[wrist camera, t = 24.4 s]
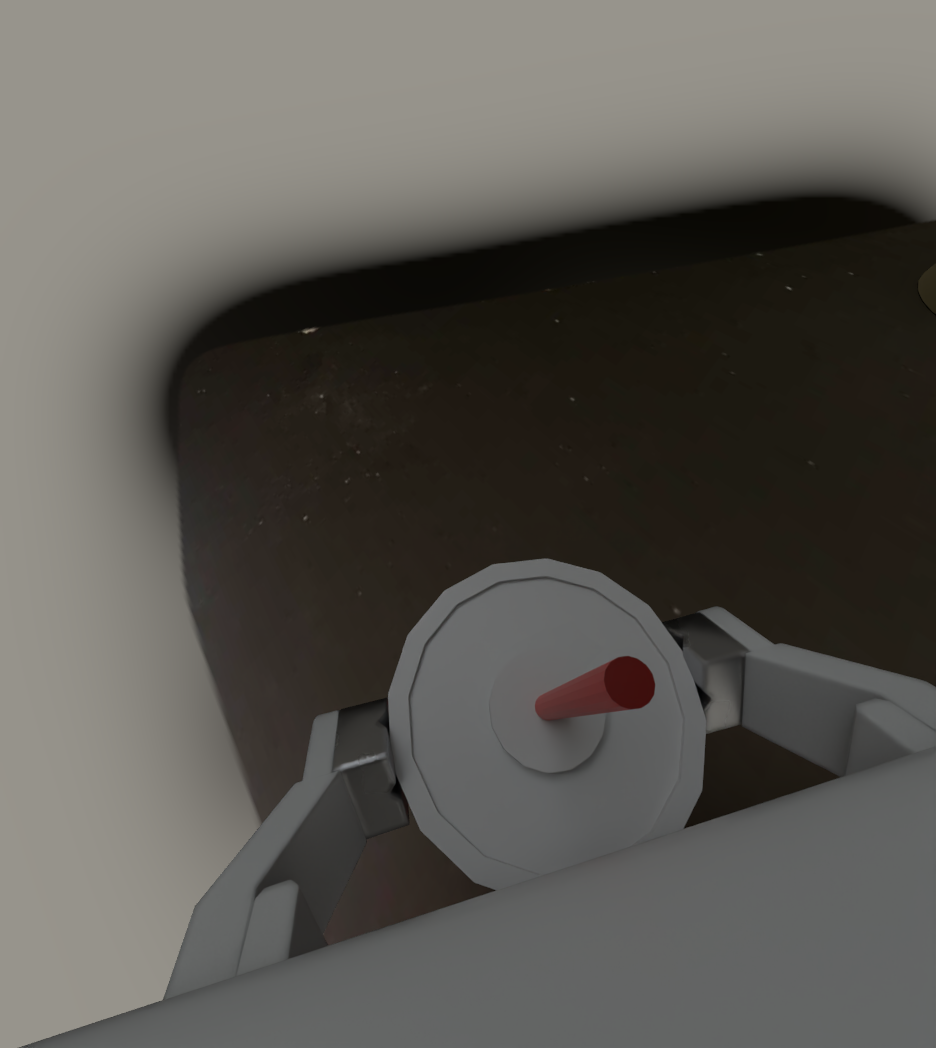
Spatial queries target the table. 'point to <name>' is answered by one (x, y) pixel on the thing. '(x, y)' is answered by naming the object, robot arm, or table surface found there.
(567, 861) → the beverage cup
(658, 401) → the table surface
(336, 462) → the table surface
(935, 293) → the peg doll
